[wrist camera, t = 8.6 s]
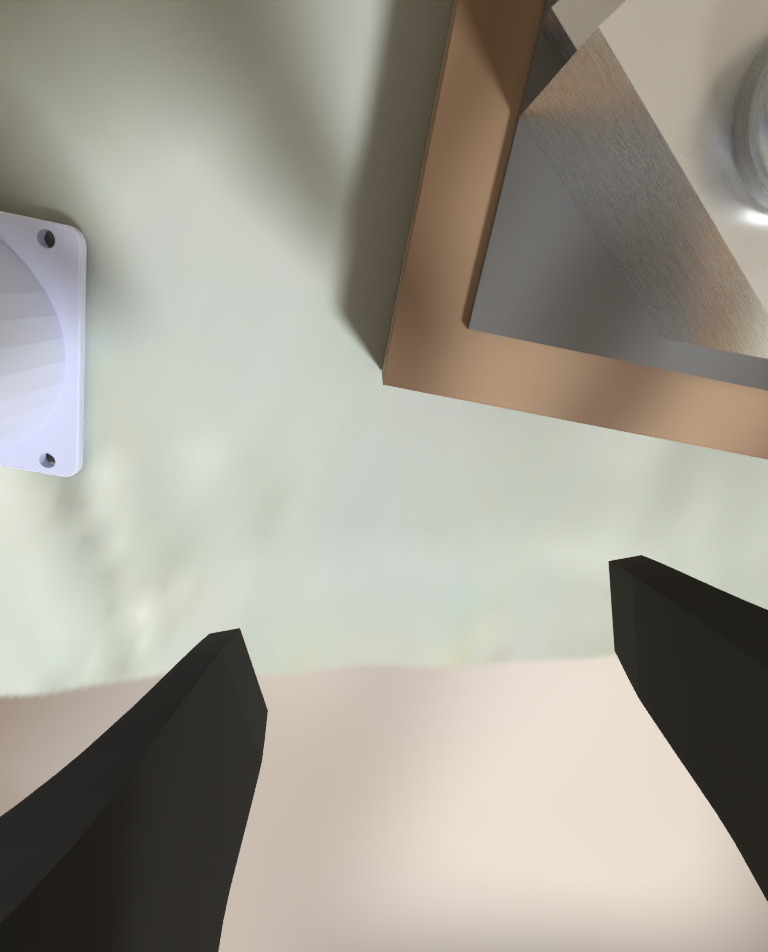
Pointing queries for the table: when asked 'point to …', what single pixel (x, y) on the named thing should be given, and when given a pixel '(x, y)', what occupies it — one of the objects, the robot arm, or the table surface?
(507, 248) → the stand
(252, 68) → the table surface
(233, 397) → the table surface
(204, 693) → the robot arm
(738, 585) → the table surface
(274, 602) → the table surface
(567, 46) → the housing
